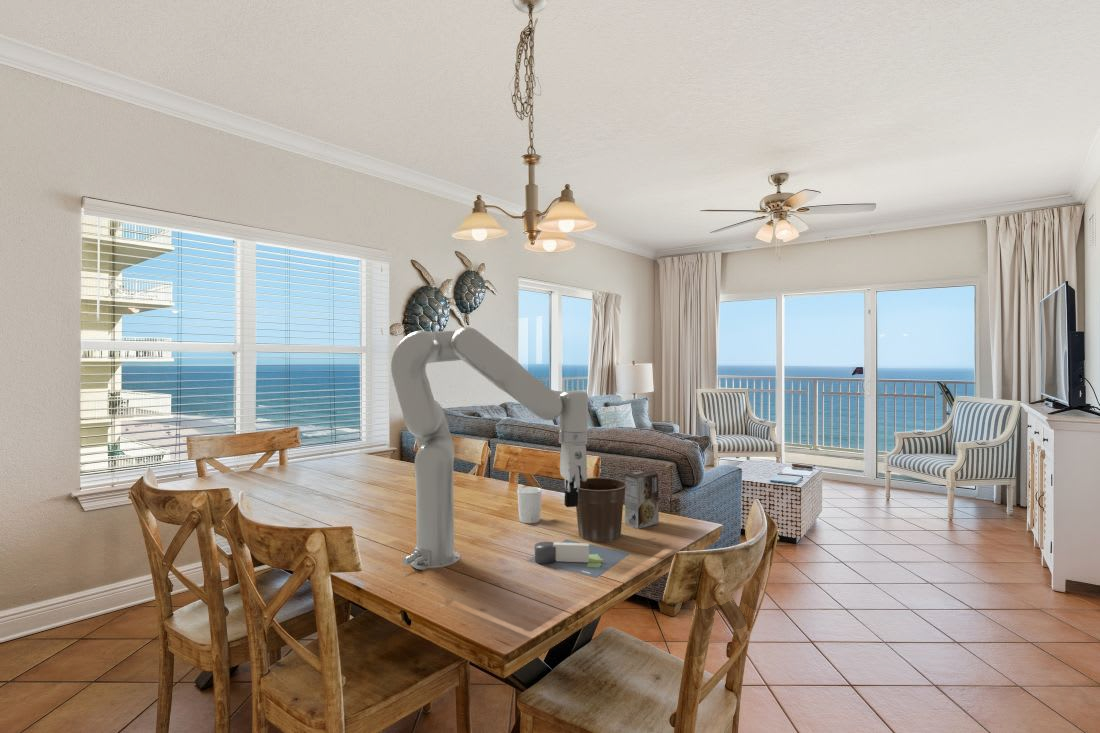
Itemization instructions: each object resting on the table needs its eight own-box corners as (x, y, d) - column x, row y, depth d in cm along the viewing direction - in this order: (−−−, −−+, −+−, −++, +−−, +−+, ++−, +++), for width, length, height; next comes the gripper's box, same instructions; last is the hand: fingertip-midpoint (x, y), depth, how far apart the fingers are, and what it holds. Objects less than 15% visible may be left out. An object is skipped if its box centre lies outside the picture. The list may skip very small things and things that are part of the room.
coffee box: (644, 518, 177) (644, 469, 177) (659, 523, 172) (659, 473, 172) (623, 524, 172) (623, 473, 172) (638, 529, 167) (638, 476, 167)
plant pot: (559, 537, 160) (559, 482, 160) (598, 525, 170) (598, 474, 170) (599, 552, 148) (599, 493, 147) (638, 539, 158) (638, 483, 158)
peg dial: (533, 563, 137) (533, 546, 137) (536, 554, 142) (536, 539, 142) (602, 565, 135) (602, 549, 135) (602, 557, 140) (602, 541, 140)
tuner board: (596, 581, 128) (596, 577, 128) (527, 564, 139) (527, 560, 139) (630, 556, 144) (630, 552, 144) (566, 542, 155) (566, 538, 155)
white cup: (543, 517, 180) (543, 487, 180) (540, 524, 172) (540, 493, 172) (519, 516, 181) (519, 486, 181) (515, 523, 173) (515, 492, 173)
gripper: (595, 441, 139) (593, 513, 139) (578, 433, 153) (576, 498, 153) (567, 442, 137) (565, 514, 137) (552, 433, 151) (550, 499, 151)
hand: (570, 505), depth 145 cm, fingers closed
